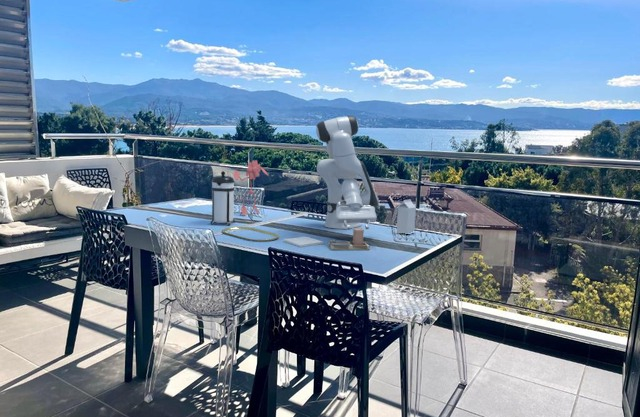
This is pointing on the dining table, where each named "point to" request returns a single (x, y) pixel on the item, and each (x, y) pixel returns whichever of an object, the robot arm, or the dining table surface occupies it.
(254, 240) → the serving platter
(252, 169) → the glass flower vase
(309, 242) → the off-white ceramic tile
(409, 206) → the milk carton
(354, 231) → the terracotta peg block
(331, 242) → the birch puzzle board
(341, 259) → the dining table surface
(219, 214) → the coffee press
